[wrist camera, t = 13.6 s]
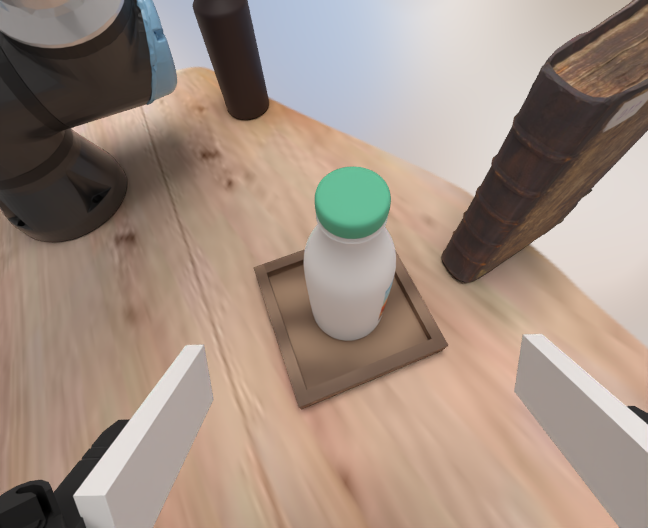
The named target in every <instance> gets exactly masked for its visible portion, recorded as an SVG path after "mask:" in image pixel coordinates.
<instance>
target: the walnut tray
mask: <svg viewBox="0 0 648 528" xmlns="http://www.w3.org/2000/svg"><path fill="white" fill-rule="evenodd" d="M304 251H305V250H302V251H299V252H296V253H293V254H291V255H288V256H285V257H282V258H279V259H276V260H274V261H271V262H268V263H265V264H262V265H259V266H257V267H254V270H255V273H256V277H257V280H258V283H259V286H260V289H261V292H262V295H263V298H264V301H265V304H266V307H267V310H268V314H269V317H270V320H271V323H272V326H273V329H274V332H275V335H276V338H277V341H278V344H279V348H280V351H281V354H282V357H283V360H284V363H285V366H286V369H287V372H288V375H289V378H290V381H291V385H292V388H293V391H294V394H295V397H296V400H297V403H298V406H299V408H300V409H303V408H306V407H308V406H311V405H313V404H315V403H318V402H320V401H323V400H325V399H327V398H330V397H332V396H335V395H337V394H339V393H342V392H344V391H347V390H349V389H351V388H354V387H356V386H359V385H361V384H363V383H366V382H368V381H371V380H373V379H375V378H378V377H380V376H383V375H385V374H387V373H390V372H392V371H395V370H397V369H399V368H402V367H404V366H407V365H409V364H411V363H414V362H416V361H419V360H421V359H423V358H426V357H428V356H431V355H433V354H435V353H438V352H440V351H442V350H443V349H445V348H446V347H447V346H448V344H447V342H446V340H445V338H444V337H443V335H442V333H441V331H440V329H439V328H438V326H437V324H436V322H435V320H434V319H433V317H432V315H431V313H430V311H429V310H428V308H427V306H426V304H425V302H424V301H423V299H422V297H421V295H420V294H419V292H418V290H417V288H416V286H415V285H414V283H413V281H412V279H411V277H410V276H409V274H408V272H407V270H406V268H405V267H404V265H403V263H402V261H401V259H400V258H399V256H398V254H397V252H396V250H395V252H396V269H395V274H394V279H393V283H392V286H391V289H390V293H389V296H388V299H387V302H386V305H385V308H384V311H383V314H382V317H381V319H380V321H379V323H378V325H377V326H376V328H375V329H374V330H373V331H372V332H371V333H370V334H368V335H367V336H365V337H363V338H360V339H357V340H352V341H344V340H338V339H335V338H333V337H331V336H329V335H327V334H326V333H325V332H324V331H323V330H322V329H321V328H320V327H319V326H318V324H317V323H316V321H315V318H314V315H313V312H312V308H311V304H310V299H309V294H308V290H307V285H306V280H305V273H304Z"/></svg>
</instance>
